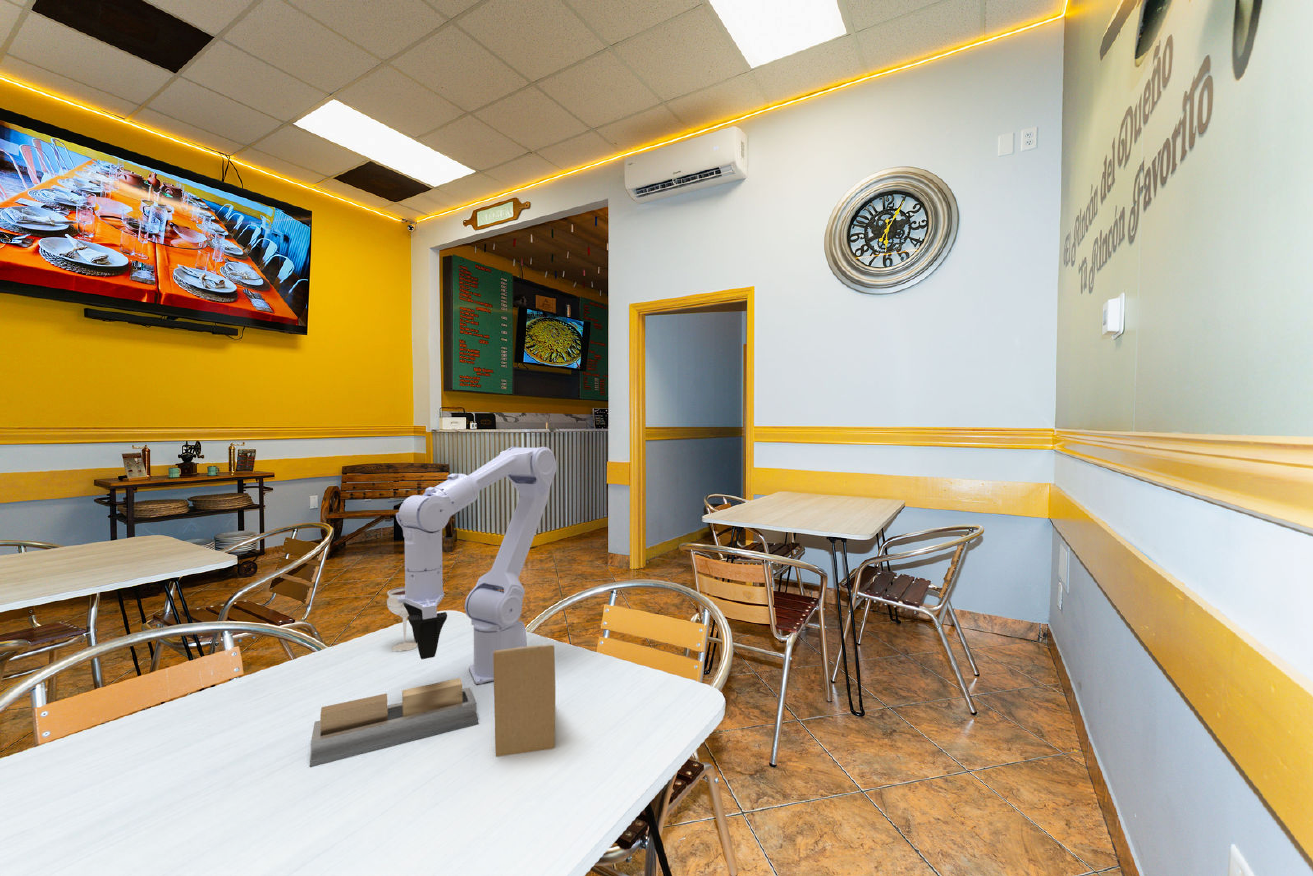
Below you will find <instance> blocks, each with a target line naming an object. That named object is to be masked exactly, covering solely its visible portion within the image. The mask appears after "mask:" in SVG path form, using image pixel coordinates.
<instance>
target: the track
mask: <svg viewBox="0 0 1313 876" xmlns="http://www.w3.org/2000/svg"><path fill="white" fill-rule="evenodd" d="M477 707H478V706H477V700H476V698H475V696H474V694H473V691H472V689H471V687H466V688H462V703H461V704H457V705H453V706H448V707H444V708H440V709H435V710H431V711H427V712H422V713H418V714H414V715H410V716H405V717H403V713H402V702H397V703H393V704H389V705H388V693H382V694H378V695H372V696H368V697H364V698H360V699H359V698H358V699H354V700H349V701H345V702H338V703H336V704H330V705H326V706H322V707H321V709H320V720H316V721H314V724H313V728H312V735H311V741H310V754H311V755H310V761H309V767H313V766H319V765H322V764H325V763H330V762H334V761H337V760H338V761H339V760H341V759H345V758H349V757H354V756H357V755H361V754H364V753H365V754H366V753H368V752H373V751H377V750H380V749H385V748H388V747H392V746H396V745H400V744H406V743H408V742H412V741H417V740H421V739H424V738H429V737H432V736H436V735H439V734H443V733H448V732H451V731H455V730H460V729H463V728H467V727H470V726H475V725H479V717H478V714H477V713H478V712H477Z"/></svg>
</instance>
